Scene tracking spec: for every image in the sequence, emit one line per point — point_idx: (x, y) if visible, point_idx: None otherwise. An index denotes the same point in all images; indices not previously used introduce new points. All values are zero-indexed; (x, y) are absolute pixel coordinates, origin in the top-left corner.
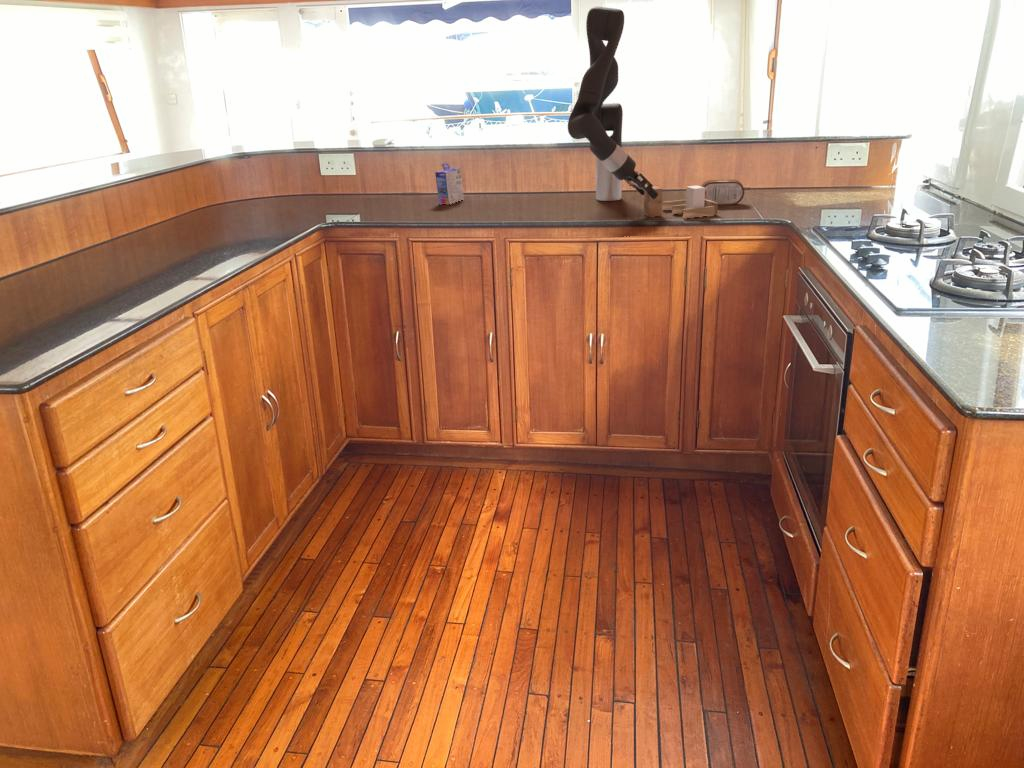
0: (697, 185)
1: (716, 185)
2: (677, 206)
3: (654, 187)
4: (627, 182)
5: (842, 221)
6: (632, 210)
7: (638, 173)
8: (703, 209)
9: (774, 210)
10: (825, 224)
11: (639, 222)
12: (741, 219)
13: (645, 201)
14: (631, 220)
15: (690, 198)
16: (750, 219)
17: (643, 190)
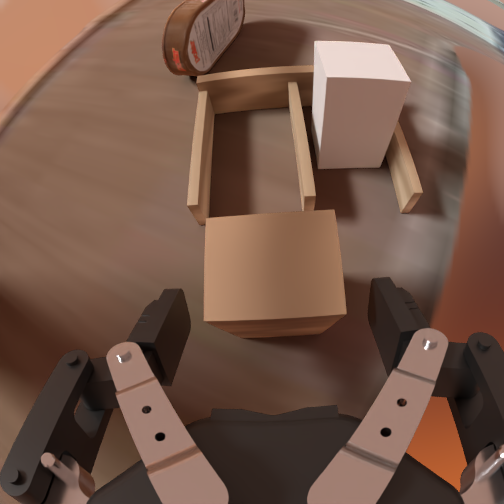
0: (316, 41)
1: (207, 11)
2: (312, 177)
3: (252, 245)
4: (94, 434)
5: (459, 15)
6: (118, 337)
7: (378, 497)
8: None
9: (345, 12)
10: (482, 35)
11: None
12: (439, 85)
13: (246, 331)
14: None
15: (371, 118)
16: (440, 73)
17: (178, 317)
